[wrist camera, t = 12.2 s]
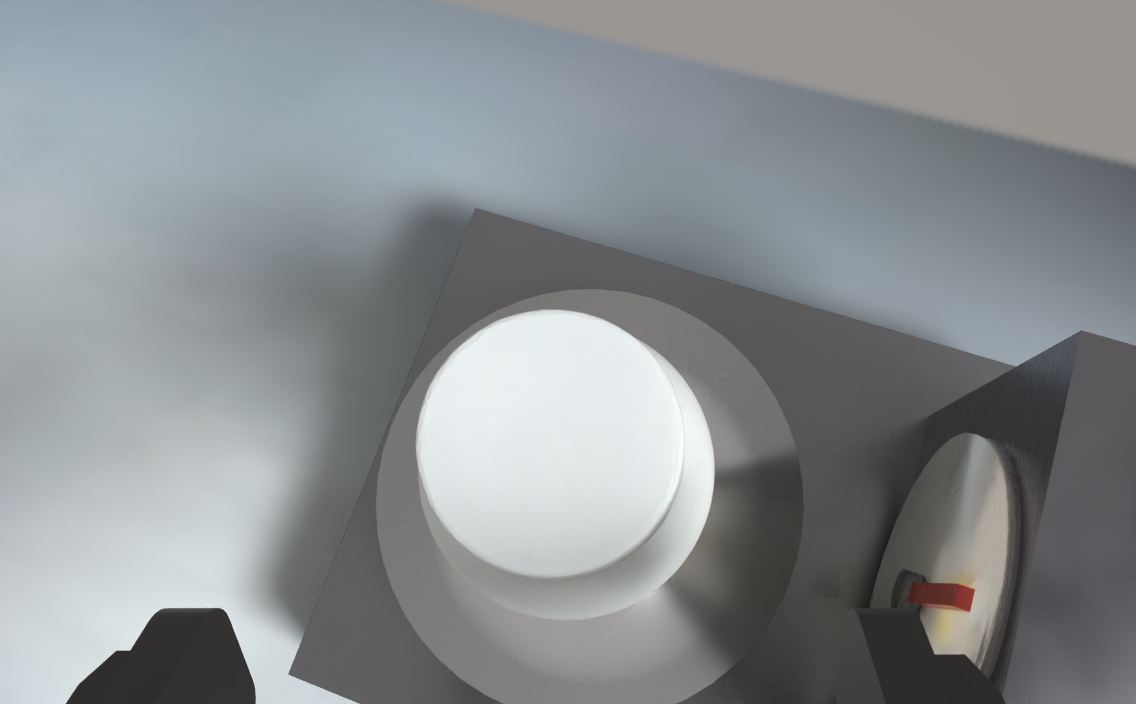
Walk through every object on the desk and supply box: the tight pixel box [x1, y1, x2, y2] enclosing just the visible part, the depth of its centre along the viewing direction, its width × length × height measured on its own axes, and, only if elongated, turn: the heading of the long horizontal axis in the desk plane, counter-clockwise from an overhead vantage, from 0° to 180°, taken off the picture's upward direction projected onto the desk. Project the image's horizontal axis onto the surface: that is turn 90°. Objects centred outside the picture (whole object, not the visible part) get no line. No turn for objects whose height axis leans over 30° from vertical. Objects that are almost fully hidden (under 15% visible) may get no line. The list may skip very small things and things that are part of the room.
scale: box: [289, 208, 1136, 704], centre depth 20 cm, size 17×14×11 cm
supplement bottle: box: [415, 309, 715, 620], centre depth 17 cm, size 5×5×10 cm
